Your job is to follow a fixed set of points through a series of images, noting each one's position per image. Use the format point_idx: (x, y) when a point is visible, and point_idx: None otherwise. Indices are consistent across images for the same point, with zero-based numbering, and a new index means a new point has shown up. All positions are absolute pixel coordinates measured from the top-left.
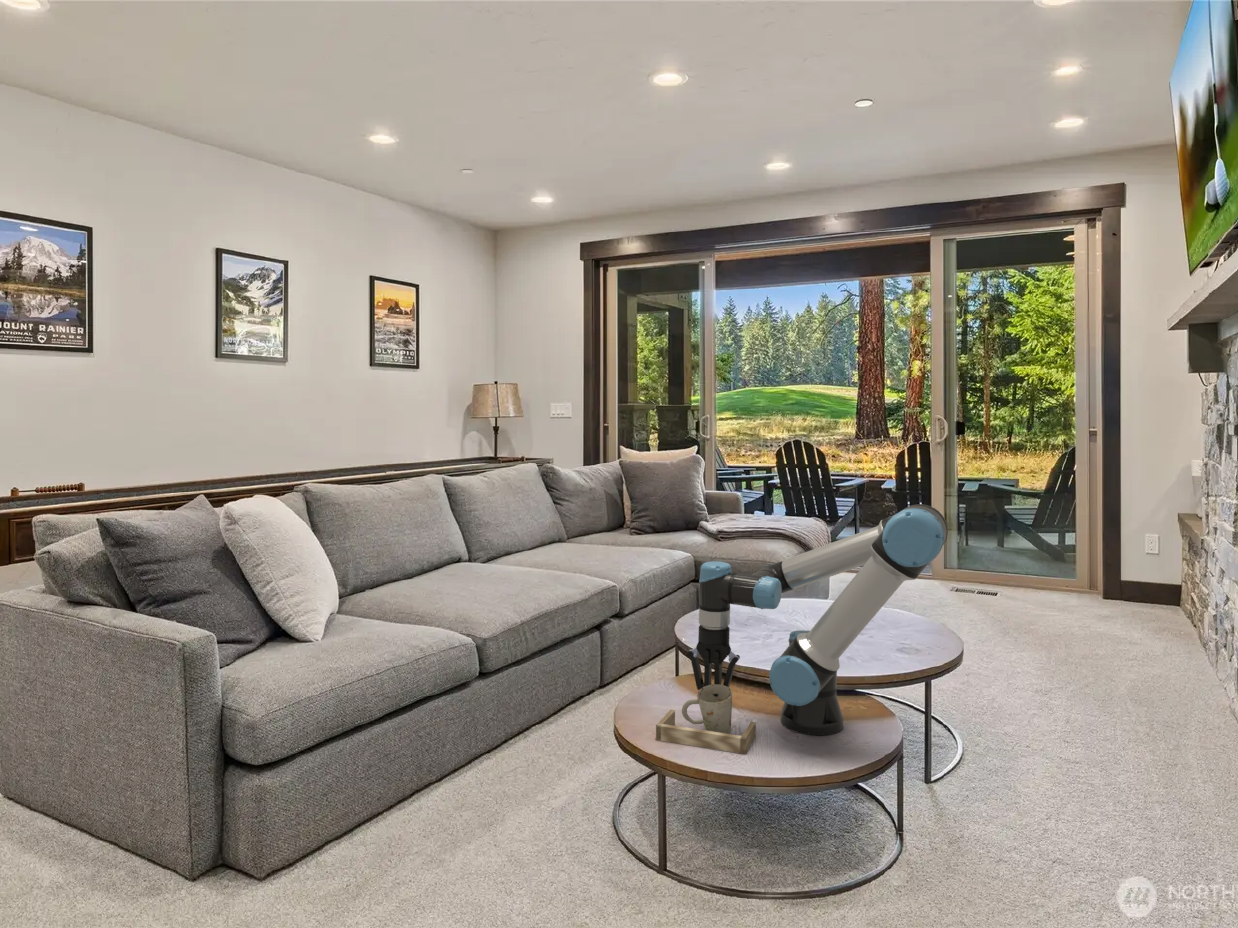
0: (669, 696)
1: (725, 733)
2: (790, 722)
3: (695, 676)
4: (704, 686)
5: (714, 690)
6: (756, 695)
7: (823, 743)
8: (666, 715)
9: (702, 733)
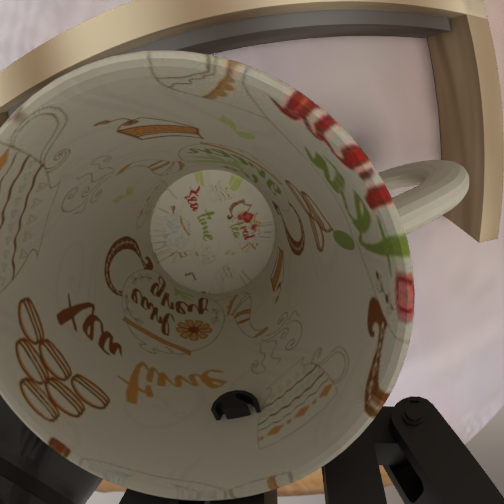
0: (474, 392)
1: (53, 74)
2: None
3: (484, 488)
4: (368, 446)
5: (251, 437)
6: None
7: None
8: (498, 147)
9: None
